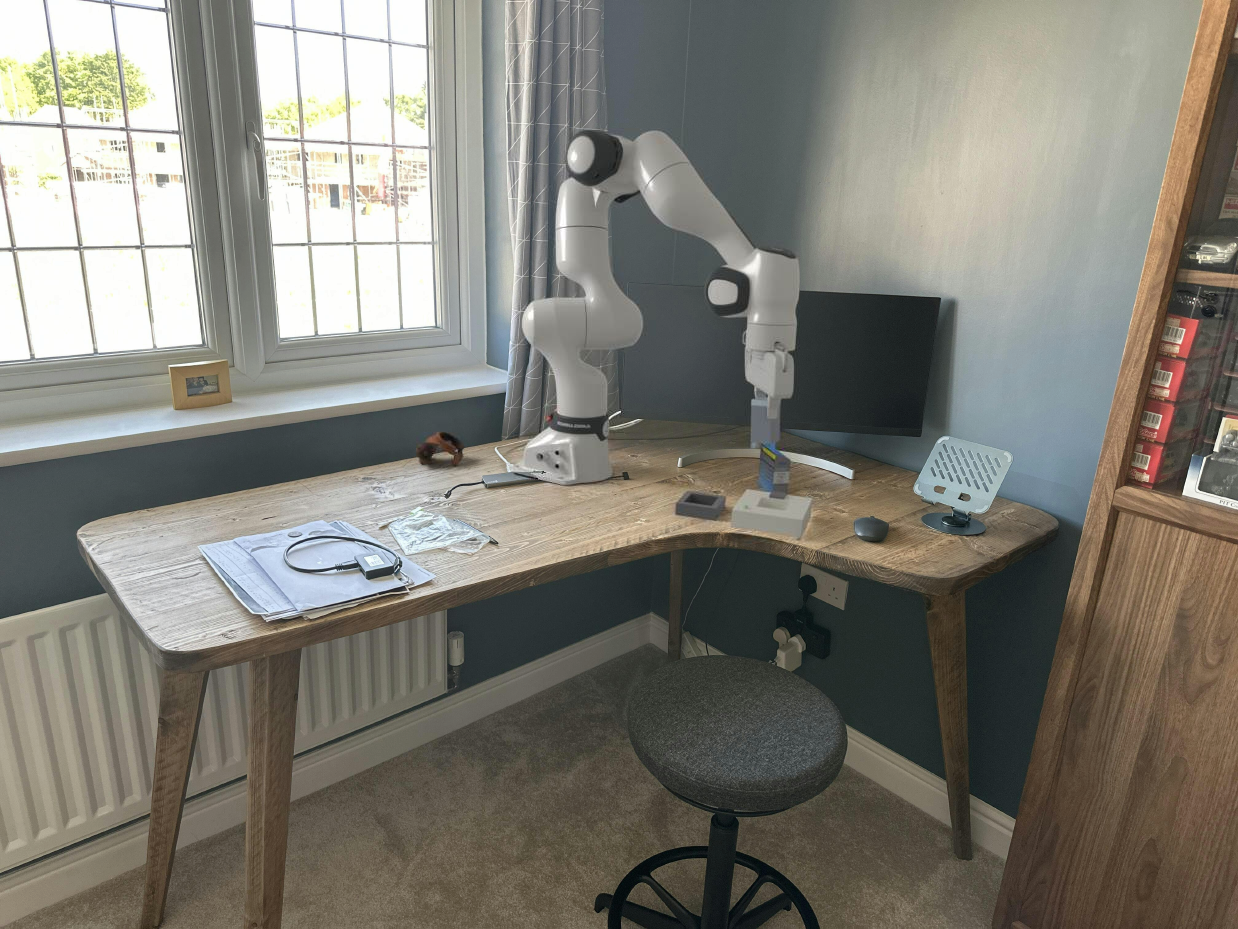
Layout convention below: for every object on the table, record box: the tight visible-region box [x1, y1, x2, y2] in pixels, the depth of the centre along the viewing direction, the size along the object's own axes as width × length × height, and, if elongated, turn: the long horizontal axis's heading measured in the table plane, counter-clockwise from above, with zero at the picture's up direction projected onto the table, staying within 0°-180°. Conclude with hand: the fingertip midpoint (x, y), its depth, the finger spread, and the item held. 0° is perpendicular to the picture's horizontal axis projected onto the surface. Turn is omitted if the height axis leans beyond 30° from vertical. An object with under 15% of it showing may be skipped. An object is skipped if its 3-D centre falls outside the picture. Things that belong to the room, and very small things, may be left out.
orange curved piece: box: [415, 431, 465, 467], centre depth 191 cm, size 12×10×8 cm
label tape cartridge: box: [757, 442, 792, 495], centre depth 177 cm, size 9×4×12 cm, turn 11°
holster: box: [674, 490, 727, 522], centre depth 164 cm, size 8×8×3 cm
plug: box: [750, 397, 781, 445], centre depth 155 cm, size 4×4×8 cm
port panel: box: [730, 489, 813, 541], centre depth 159 cm, size 13×13×4 cm
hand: (766, 414), depth 154 cm, fingers closed on plug, 6 cm apart
